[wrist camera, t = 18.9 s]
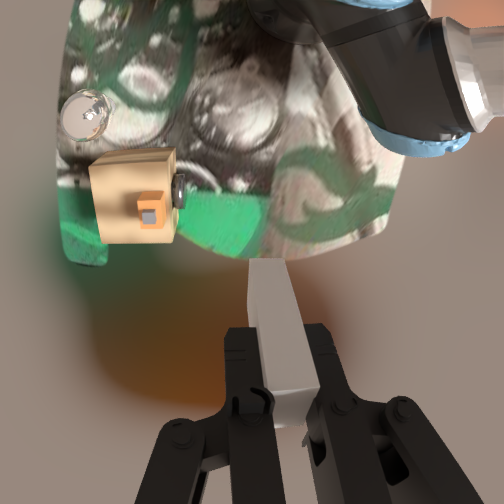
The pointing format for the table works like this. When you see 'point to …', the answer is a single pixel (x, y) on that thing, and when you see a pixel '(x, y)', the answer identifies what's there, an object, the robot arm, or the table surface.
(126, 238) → the block
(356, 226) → the table surface
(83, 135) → the light bulb
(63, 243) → the table surface
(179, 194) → the pin
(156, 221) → the bar
